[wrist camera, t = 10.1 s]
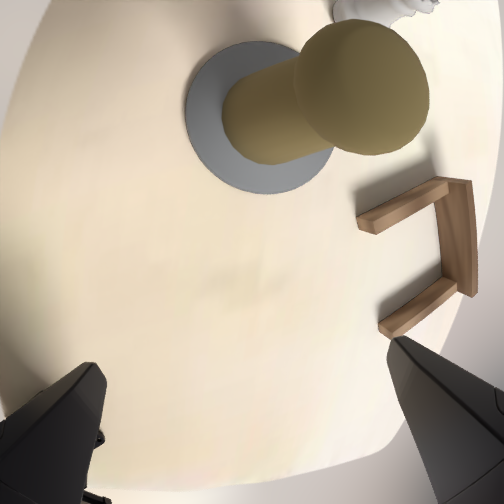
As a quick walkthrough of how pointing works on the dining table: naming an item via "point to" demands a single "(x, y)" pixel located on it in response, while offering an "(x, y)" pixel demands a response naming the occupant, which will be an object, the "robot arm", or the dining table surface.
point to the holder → (451, 245)
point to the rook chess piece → (380, 9)
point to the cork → (331, 97)
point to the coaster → (212, 132)
